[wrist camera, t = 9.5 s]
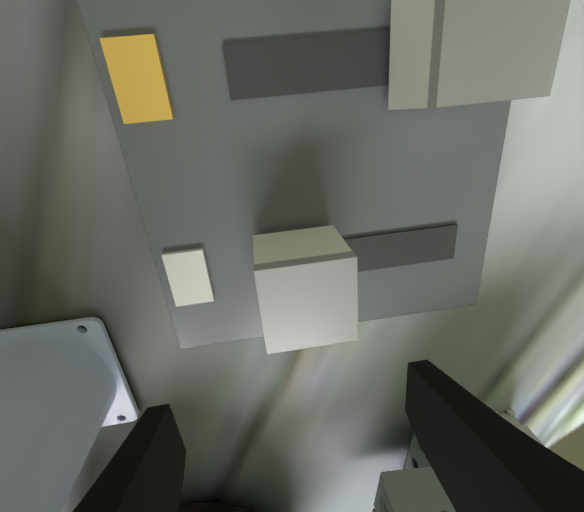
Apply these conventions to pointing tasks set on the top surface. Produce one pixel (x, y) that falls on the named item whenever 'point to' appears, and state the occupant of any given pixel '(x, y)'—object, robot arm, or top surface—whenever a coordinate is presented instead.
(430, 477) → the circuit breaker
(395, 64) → the slider
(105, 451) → the top surface
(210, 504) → the glass bottle
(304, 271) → the slider
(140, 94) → the switch console
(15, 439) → the robot arm
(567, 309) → the top surface
